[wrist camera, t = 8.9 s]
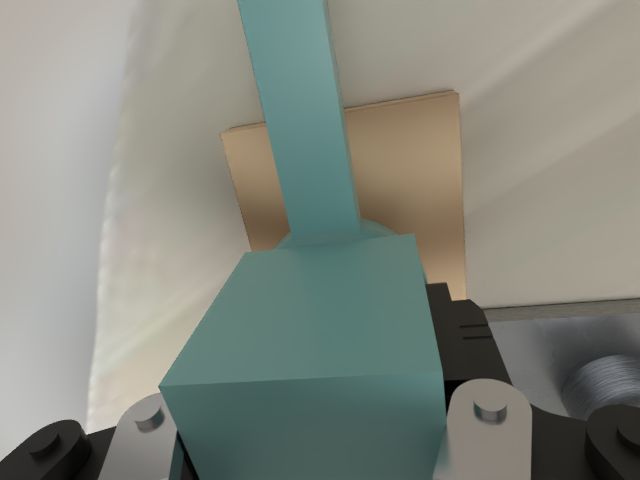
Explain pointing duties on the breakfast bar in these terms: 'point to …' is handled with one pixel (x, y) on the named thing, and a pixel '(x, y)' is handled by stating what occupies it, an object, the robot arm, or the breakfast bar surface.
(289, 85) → the teal block with handle
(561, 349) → the post
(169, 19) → the breakfast bar surface
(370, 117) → the wooden coaster
